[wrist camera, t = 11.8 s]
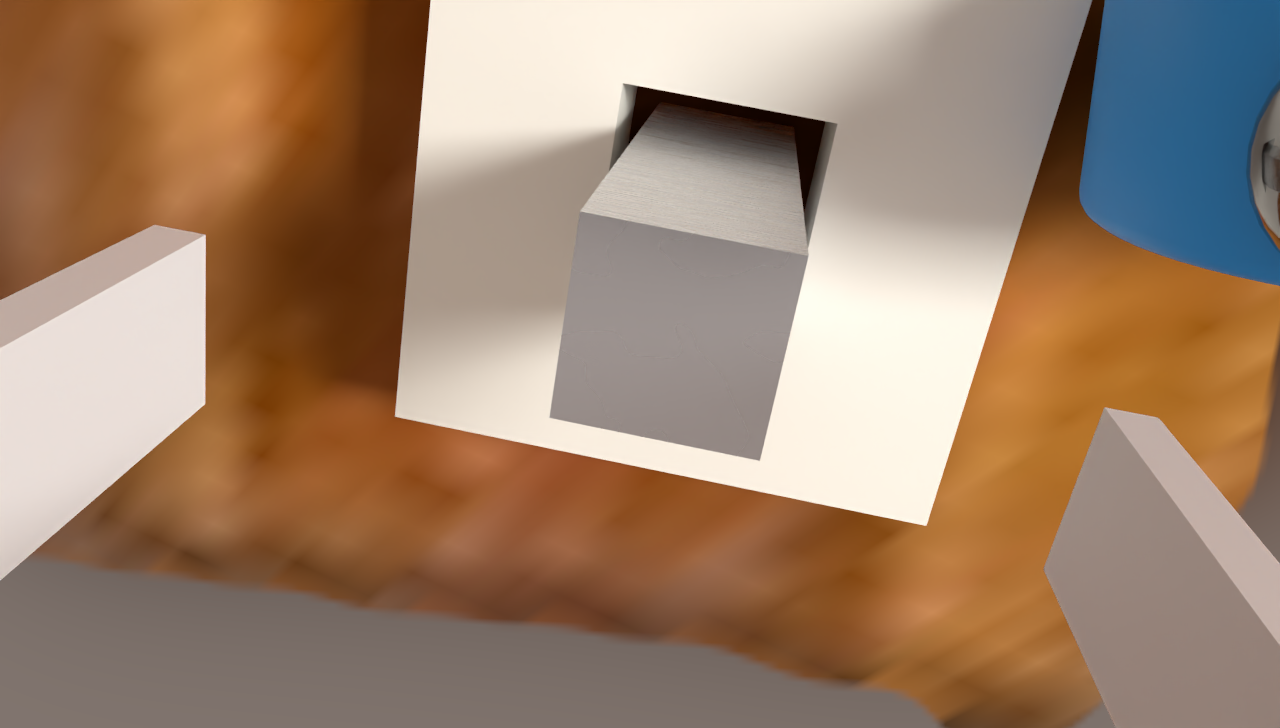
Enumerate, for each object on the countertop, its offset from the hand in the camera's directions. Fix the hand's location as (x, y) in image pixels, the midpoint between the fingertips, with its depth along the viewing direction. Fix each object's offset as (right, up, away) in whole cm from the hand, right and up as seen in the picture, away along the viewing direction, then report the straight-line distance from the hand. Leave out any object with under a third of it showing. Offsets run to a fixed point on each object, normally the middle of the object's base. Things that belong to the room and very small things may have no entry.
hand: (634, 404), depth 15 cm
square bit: (+2, +6, +16) cm, 18 cm away
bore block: (+2, +6, +16) cm, 18 cm away
